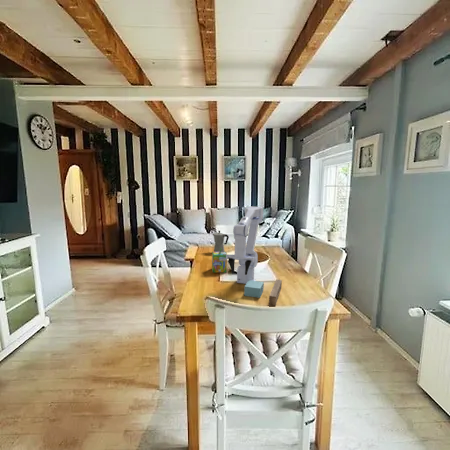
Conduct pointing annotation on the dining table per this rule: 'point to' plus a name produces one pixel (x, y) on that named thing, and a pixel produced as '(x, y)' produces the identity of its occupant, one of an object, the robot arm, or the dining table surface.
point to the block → (254, 288)
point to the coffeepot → (219, 241)
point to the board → (275, 292)
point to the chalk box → (219, 262)
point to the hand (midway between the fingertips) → (239, 273)
